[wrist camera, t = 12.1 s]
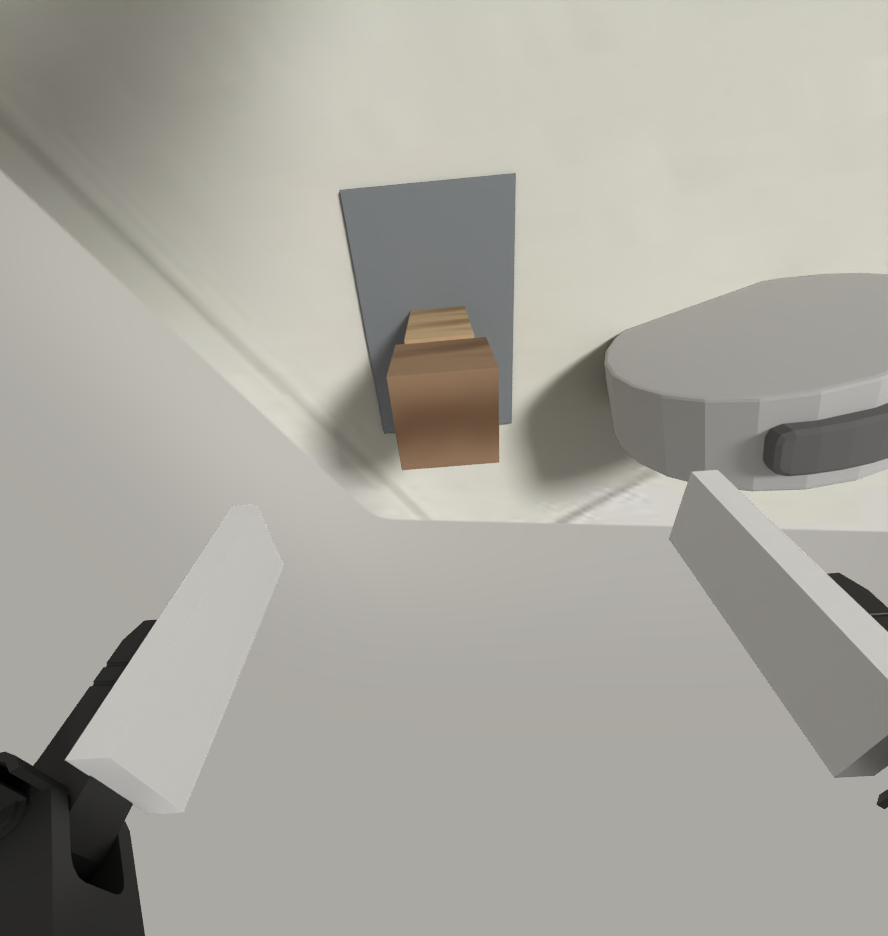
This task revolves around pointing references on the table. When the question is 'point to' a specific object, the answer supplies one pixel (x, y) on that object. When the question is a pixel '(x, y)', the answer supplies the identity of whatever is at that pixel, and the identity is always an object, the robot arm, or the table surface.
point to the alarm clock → (760, 384)
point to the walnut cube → (445, 403)
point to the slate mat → (434, 265)
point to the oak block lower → (438, 314)
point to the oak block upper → (438, 331)
